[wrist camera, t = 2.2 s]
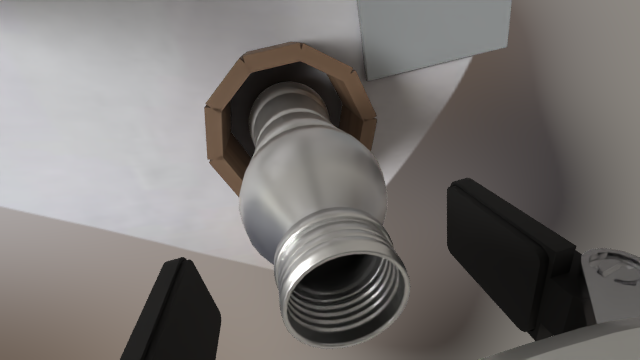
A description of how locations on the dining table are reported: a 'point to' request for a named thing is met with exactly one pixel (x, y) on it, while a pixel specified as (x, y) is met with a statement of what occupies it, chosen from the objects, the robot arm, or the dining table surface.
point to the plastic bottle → (320, 221)
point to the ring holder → (219, 138)
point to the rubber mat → (428, 32)
